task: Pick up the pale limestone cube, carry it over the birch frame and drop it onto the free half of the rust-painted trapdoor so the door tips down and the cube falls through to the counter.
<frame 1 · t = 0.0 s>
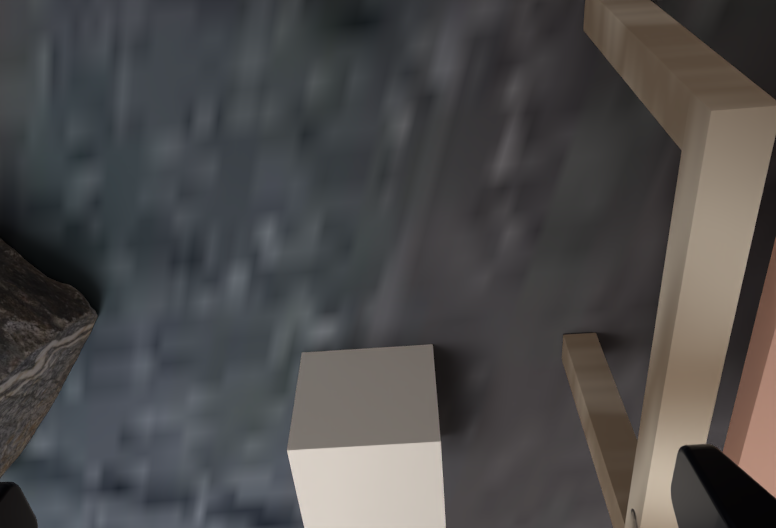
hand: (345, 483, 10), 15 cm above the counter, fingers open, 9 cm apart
frame: (775, 302, 26), on the counter
limestone block: (373, 395, 29), on the counter
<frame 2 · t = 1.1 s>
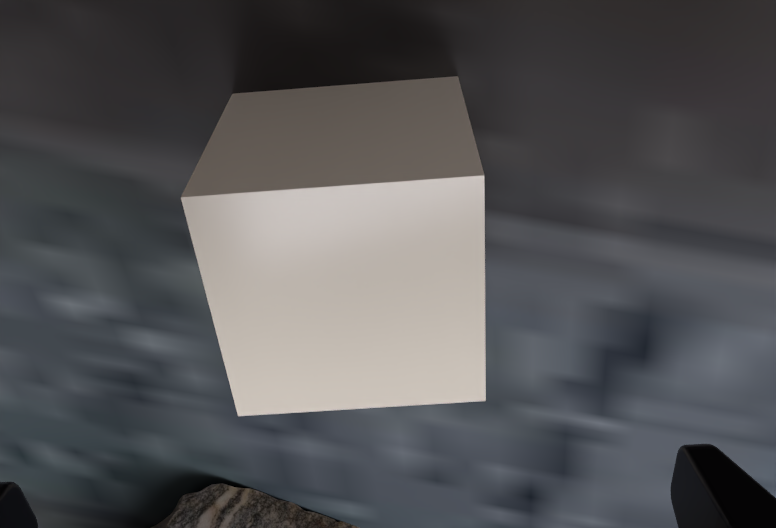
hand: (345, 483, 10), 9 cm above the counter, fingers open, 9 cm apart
limestone block: (356, 184, 17), on the counter
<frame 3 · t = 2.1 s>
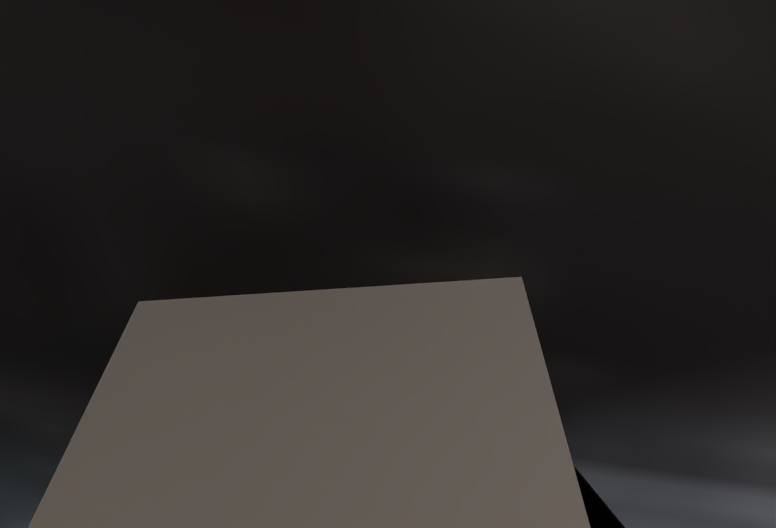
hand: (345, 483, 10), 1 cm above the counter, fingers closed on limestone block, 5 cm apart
limestone block: (348, 424, 11), on the counter, touching gripper
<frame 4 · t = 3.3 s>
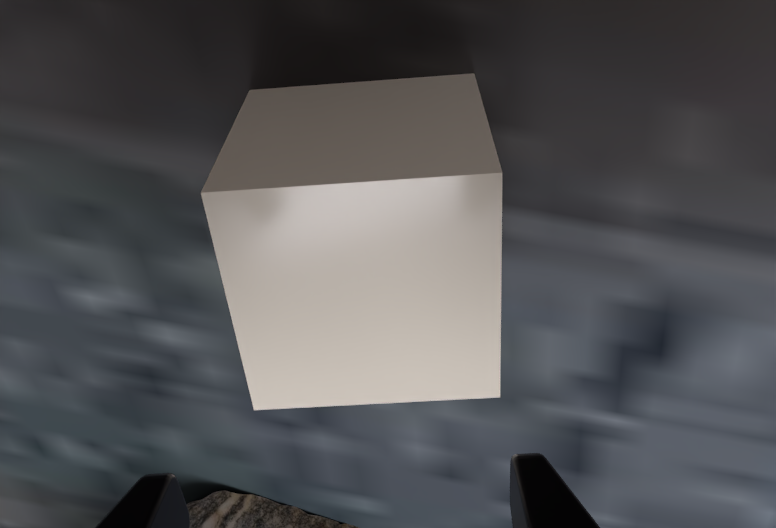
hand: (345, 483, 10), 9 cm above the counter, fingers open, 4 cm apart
limestone block: (371, 181, 18), on the counter
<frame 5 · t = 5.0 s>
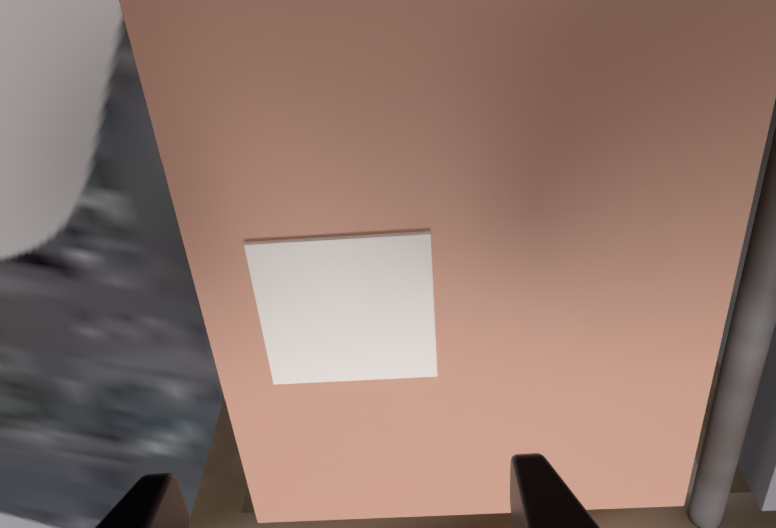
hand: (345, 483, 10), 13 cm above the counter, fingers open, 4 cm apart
frame: (625, 93, 20), on the counter
trapdoor: (588, 277, 13), point 9 cm above the counter, hinge at 0.0°
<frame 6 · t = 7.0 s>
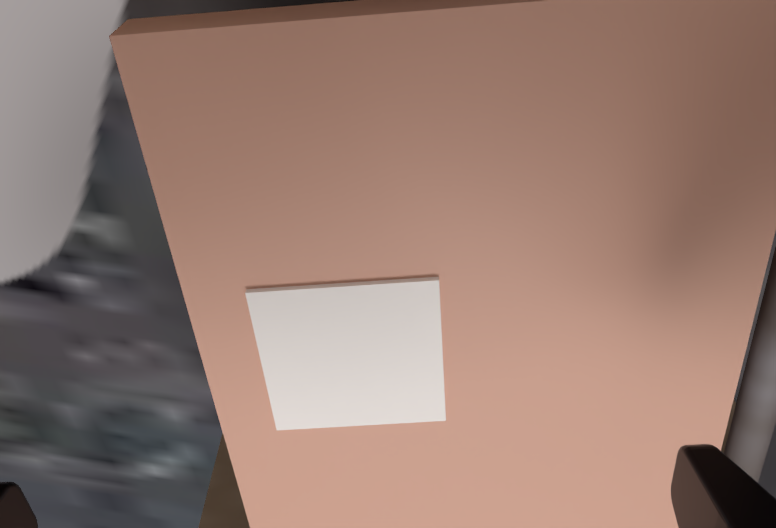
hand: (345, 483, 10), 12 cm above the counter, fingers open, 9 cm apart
frame: (630, 113, 20), on the counter
trapdoor: (601, 318, 12), point 9 cm above the counter, hinge at 0.0°
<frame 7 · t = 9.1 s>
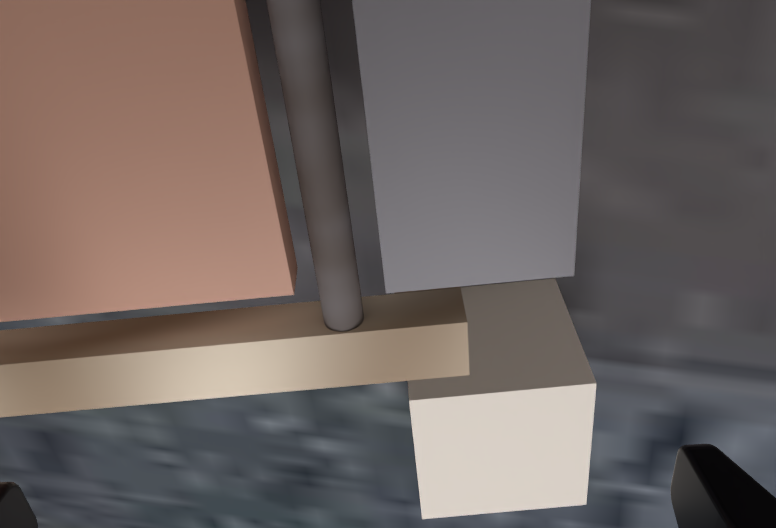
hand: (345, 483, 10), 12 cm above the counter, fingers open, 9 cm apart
limestone block: (479, 343, 25), on the counter
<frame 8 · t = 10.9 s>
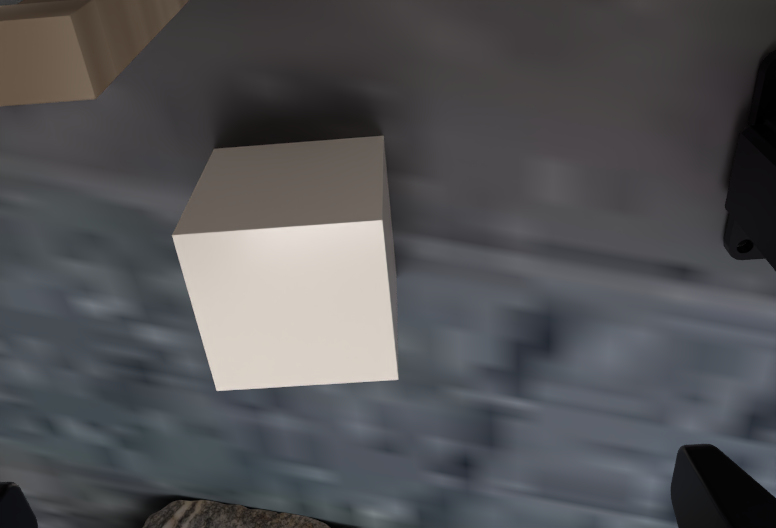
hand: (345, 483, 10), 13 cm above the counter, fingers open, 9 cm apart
limestone block: (310, 215, 23), on the counter
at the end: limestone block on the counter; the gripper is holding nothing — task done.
